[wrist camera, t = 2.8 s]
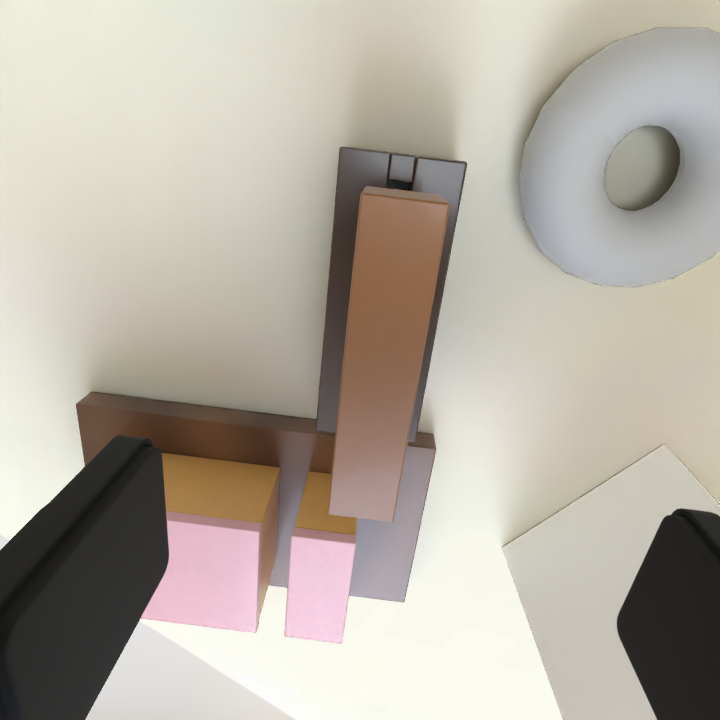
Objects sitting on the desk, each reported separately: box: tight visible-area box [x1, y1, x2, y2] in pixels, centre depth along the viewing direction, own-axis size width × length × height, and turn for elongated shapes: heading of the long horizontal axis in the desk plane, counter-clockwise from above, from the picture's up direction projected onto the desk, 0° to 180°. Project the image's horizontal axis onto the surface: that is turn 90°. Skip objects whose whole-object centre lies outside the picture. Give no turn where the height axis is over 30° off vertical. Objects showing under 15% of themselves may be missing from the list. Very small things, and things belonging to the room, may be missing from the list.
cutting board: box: [76, 392, 436, 602], centre depth 29 cm, size 20×12×2 cm, turn 84°
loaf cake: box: [141, 453, 280, 633], centre depth 26 cm, size 10×7×5 cm
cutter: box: [327, 186, 450, 522], centre depth 20 cm, size 2×11×10 cm, turn 174°
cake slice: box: [285, 471, 357, 644], centre depth 26 cm, size 3×7×5 cm, turn 174°
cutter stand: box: [316, 147, 467, 442], centre depth 23 cm, size 5×13×4 cm, turn 174°
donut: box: [519, 27, 720, 287], centre depth 20 cm, size 10×4×10 cm
